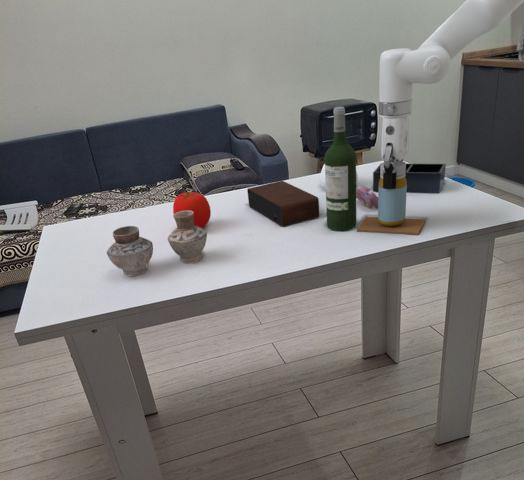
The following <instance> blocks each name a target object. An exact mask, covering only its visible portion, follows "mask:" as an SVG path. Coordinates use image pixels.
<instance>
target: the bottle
mask: <svg viewBox="0 0 524 480" xmlns="http://www.w3.org/2000/svg"><path fill="white" fill-rule="evenodd" d="M381 163H382V164H381ZM381 163H380V164H381V166H380V173H381V174H380V177H381V178H380V181H379V188H378V192H377V194H378V195H377V197H378V208H377V211H378V212H377V217H378V221H379V222H380V223H381V224H382V225H385V226H396V225H400V224H402V223H403V222H404V221H405V218H406V210H407V193H406V191H407V181H406V178H405V172H406V164H407V162H405V161H404V160H403V161H397V162H396V170H395V172H397V178H396V188H395V189H383V169H384V162H381ZM392 165H393V163H392Z"/></svg>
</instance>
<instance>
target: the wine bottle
mask: <svg viewBox="0 0 524 480" xmlns="http://www.w3.org/2000/svg"><path fill="white" fill-rule="evenodd" d="M332 113H333V142H332V144H331V145H330V146H329V148H328V149H327V150H326V151H325V153H324V164H325V183H326V189H325V208H326V209H325V210H326V227H327V229H328V230H329V231H333V232H346V231H347V232H348V231H351V230H353V229H355V228H356V226H357V198H356V188H357V182H356V171H357V153H356V151H355V149H354V148H353V147H352V146H351V144H349V143H348V141H347V134H346V133H347V132H346V108H345V107H344V106H335V107H333V112H332Z"/></svg>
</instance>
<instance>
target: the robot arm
mask: <svg viewBox="0 0 524 480" xmlns="http://www.w3.org/2000/svg"><path fill="white" fill-rule="evenodd" d="M523 3H524V0H465V1H464V2H463V3H462V4H461V5H460V6H459V7H458V9H456V10H455V11H454V12H453V13H452V14H451V15H450V16H449V17H448V18H446V20H444V21H443V23H441V24H440V25H439V27H437V29H435V31H434V32H432V34H430V35H429V37H428V38H426V40H424V42H423V43H422V44H421V45H420V46H419V47H418V48H417V49H411V48H405V47H400V48H392V49H387V50H384V51H382V53H380V56H379V76H378V77H379V79H378V80H379V83H378V84H379V86H378V87H379V88H378V92H379V93H378V117H379V118H381V119H382V122H381V123H382V125H381V145H380V146H381V148H380V149H381V151H380V152H381V153H380V155H381V157H380V158H381V160H382V161H383V163H384V169H383V189H395V188H396V178H397V172H395V170H396V162H397V161H403V162H404V158H405V157H406V156H407V155H408V153H409V132H410V131H409V129H410V127H409V116H411V115H412V108H413V107H412V106H413V105H412V104H413V84H421V85H423V84H424V85H432V84H437V83H439V82H441V81H442V80H443V79H445V77H446V76H447V75H448V74H449V71H450V69H451V61H452V60H453V59H454V58H455V57H456V56H457V55H458V54H459V53H461V52H462V51H463V50H464V49H465V48H466V47H467V46H468V45H470V44H471V43H473V42H474V41H475V40H476V39H478V38H480V37H482V36H484V35H486V34H488V33H490V32H491V31H493V30H495V29H496V28H497V27H499V26H500V25H501V24H502V23H503V22H505V20H506V19H507V18H509V17H510V15H512V14H513V12H515V10H516V9H518V8H519V7H520V6H521V5H522V4H523ZM392 163H393V165H392Z"/></svg>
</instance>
